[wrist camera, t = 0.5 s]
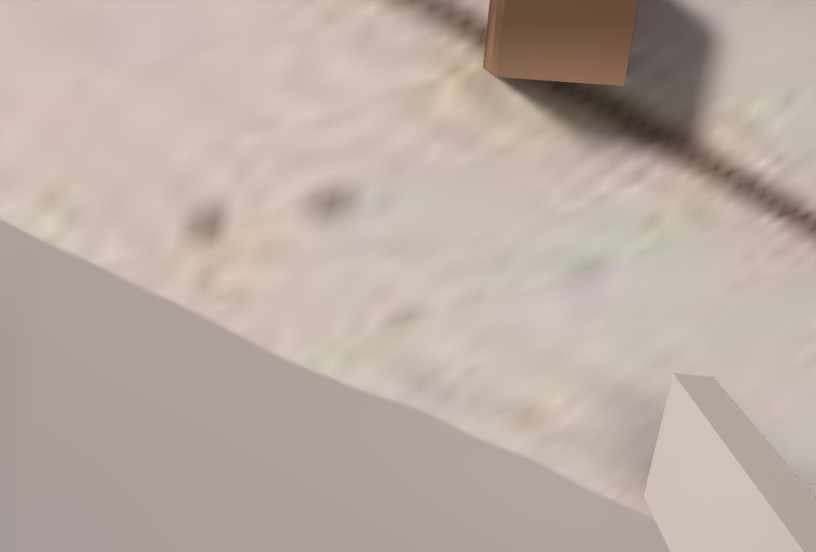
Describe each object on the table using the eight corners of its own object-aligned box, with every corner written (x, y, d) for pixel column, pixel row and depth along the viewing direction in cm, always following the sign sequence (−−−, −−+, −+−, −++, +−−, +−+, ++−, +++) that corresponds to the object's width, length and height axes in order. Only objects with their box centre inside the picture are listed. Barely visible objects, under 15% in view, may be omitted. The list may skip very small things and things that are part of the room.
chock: (495, -62, 31) (513, -80, 25) (608, -54, 31) (650, -70, 26) (483, 67, 33) (496, 77, 27) (588, 74, 33) (624, 86, 27)
